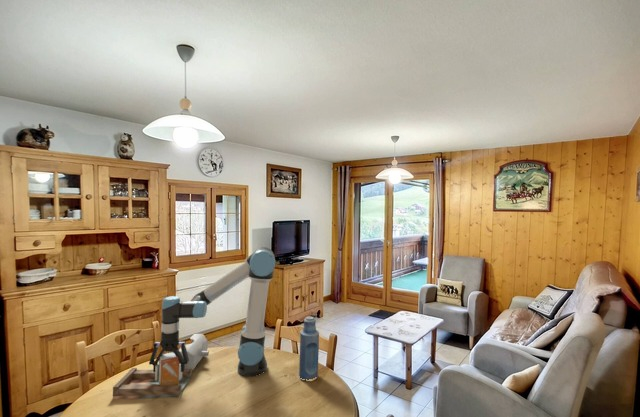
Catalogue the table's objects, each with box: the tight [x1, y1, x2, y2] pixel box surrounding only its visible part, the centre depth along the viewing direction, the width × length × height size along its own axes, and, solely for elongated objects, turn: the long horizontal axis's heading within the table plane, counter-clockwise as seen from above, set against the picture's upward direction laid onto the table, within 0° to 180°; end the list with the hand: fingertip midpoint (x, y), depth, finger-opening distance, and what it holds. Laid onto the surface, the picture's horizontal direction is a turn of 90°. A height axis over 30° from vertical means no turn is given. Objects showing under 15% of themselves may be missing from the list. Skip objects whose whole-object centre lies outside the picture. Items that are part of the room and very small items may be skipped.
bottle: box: [298, 315, 320, 380], centre depth 162 cm, size 10×10×30 cm
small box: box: [158, 351, 180, 386], centre depth 150 cm, size 8×6×13 cm
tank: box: [179, 333, 210, 372], centre depth 172 cm, size 25×16×12 cm, turn 2°
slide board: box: [112, 367, 193, 400], centre depth 149 cm, size 28×17×5 cm, turn 95°
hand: (168, 378), depth 150 cm, fingers closed on small box, 10 cm apart
